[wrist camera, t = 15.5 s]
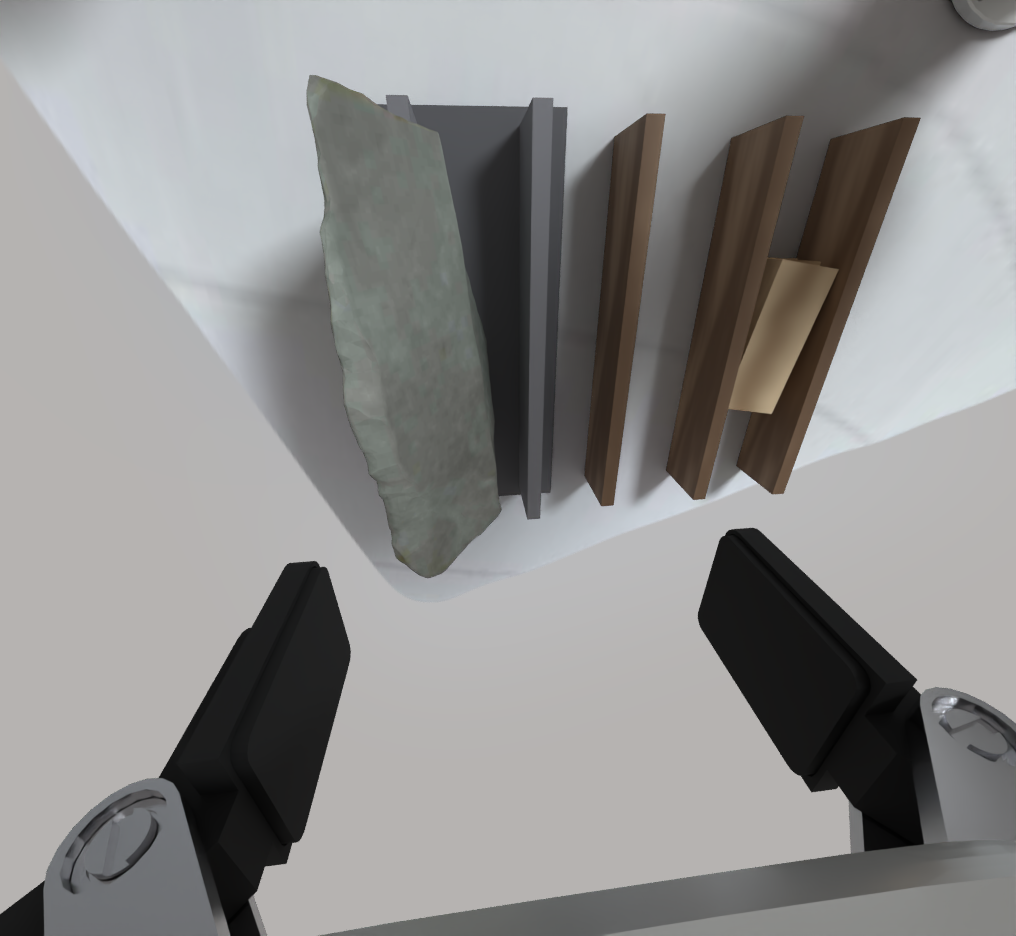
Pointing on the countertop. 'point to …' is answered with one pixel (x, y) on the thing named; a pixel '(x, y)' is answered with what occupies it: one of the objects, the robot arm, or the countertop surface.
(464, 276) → the rock
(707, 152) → the countertop surface
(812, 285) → the offcut
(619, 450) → the walnut rack
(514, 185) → the slab stand
